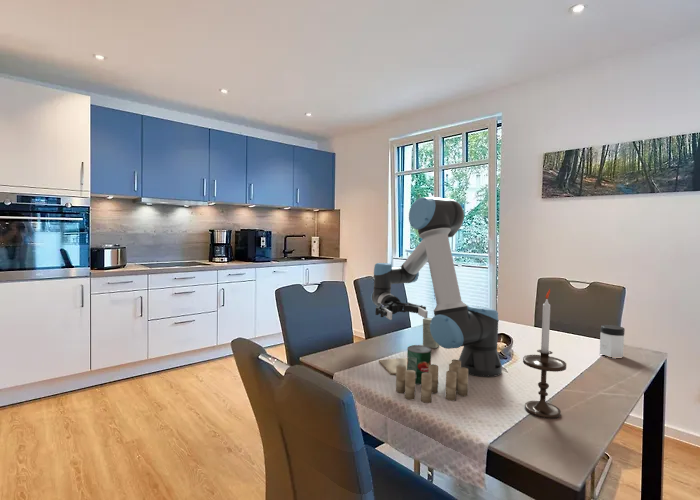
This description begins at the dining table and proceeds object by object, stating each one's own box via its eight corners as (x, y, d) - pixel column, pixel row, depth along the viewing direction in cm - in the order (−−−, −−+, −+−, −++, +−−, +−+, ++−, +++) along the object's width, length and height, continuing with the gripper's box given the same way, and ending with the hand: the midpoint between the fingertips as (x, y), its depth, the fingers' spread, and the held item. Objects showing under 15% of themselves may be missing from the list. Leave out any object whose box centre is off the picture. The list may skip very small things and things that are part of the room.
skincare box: (439, 346, 169) (440, 318, 168) (436, 348, 165) (436, 320, 164) (425, 343, 172) (426, 316, 171) (422, 346, 168) (422, 318, 168)
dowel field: (460, 383, 128) (461, 359, 127) (473, 404, 112) (474, 377, 112) (393, 381, 129) (394, 358, 128) (398, 402, 113) (398, 375, 113)
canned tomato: (409, 374, 135) (410, 343, 134) (432, 378, 132) (433, 346, 131) (404, 382, 128) (404, 350, 127) (427, 386, 125) (428, 353, 124)
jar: (593, 353, 162) (595, 325, 161) (606, 351, 165) (608, 323, 164) (615, 360, 153) (617, 330, 153) (628, 357, 157) (630, 328, 156)
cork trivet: (412, 359, 151) (413, 357, 151) (428, 371, 138) (428, 370, 138) (378, 361, 148) (378, 359, 148) (390, 374, 135) (391, 373, 135)
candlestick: (571, 413, 108) (577, 289, 106) (551, 424, 101) (557, 292, 100) (534, 399, 116) (538, 284, 115) (513, 408, 110) (518, 287, 108)
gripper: (417, 311, 162) (440, 324, 141) (359, 313, 156) (375, 327, 135) (417, 293, 161) (441, 304, 141) (360, 295, 156) (376, 306, 135)
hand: (409, 315), depth 138 cm, fingers open, 13 cm apart
